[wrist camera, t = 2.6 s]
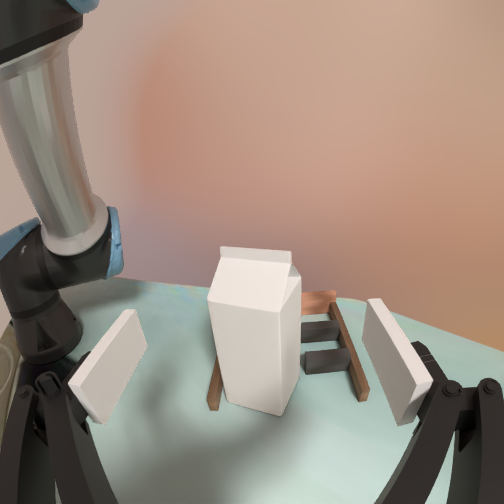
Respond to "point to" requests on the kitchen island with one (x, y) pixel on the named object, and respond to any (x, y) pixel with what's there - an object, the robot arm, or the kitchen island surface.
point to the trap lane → (316, 359)
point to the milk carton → (257, 326)
